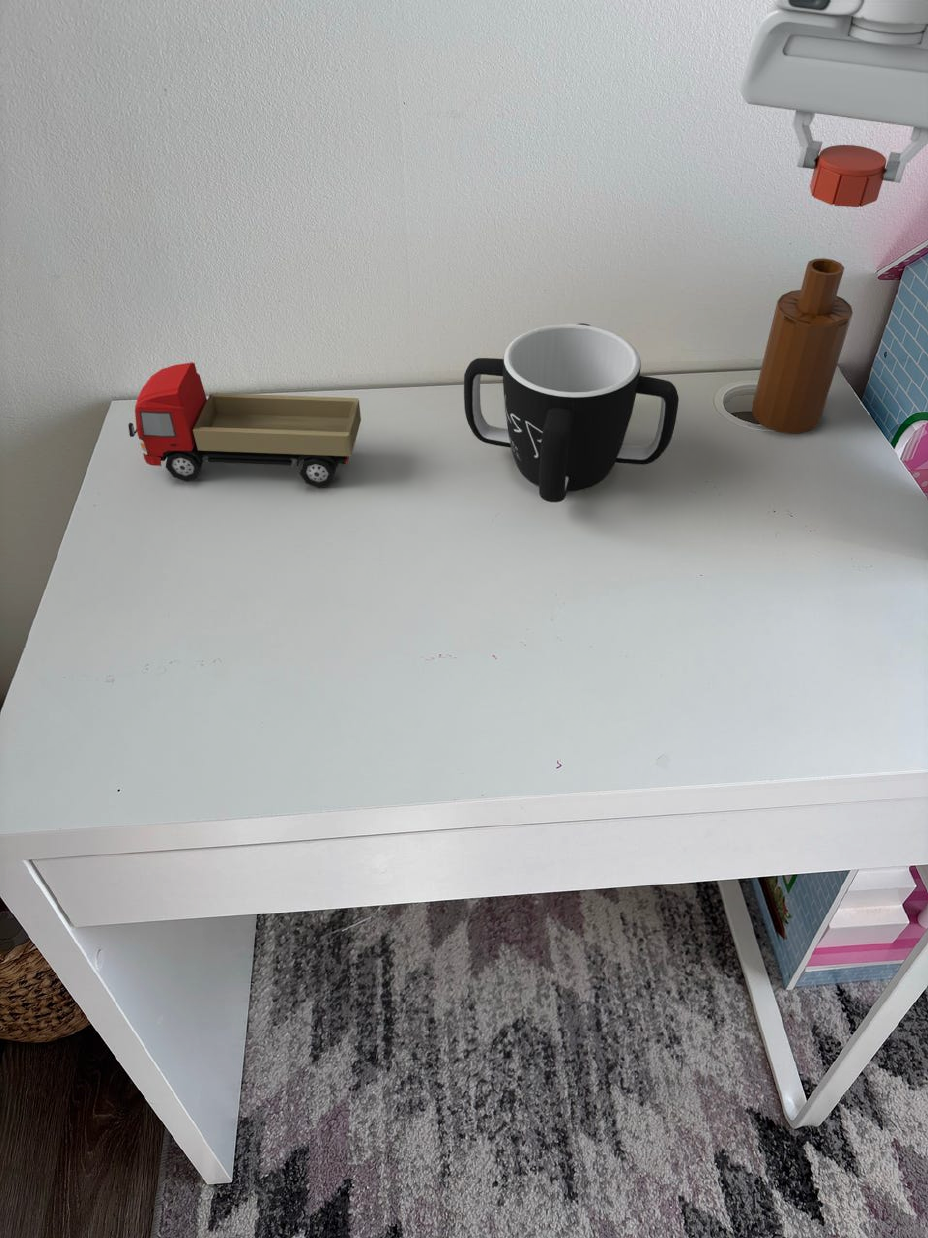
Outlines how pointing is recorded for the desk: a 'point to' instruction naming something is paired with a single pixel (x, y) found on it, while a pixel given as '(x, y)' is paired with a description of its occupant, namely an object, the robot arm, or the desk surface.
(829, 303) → the bottle
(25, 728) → the desk surface
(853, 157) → the cap
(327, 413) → the toy truck
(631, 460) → the mug
